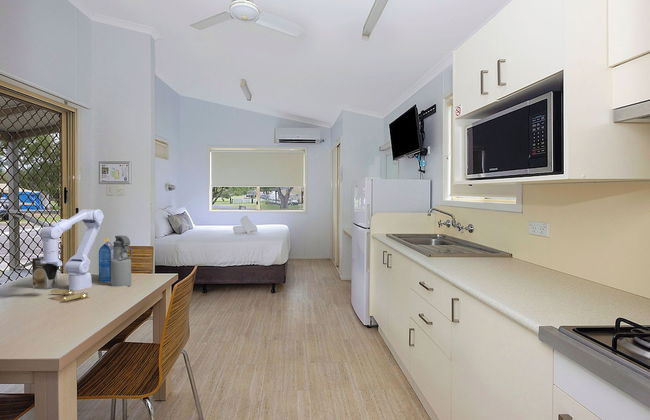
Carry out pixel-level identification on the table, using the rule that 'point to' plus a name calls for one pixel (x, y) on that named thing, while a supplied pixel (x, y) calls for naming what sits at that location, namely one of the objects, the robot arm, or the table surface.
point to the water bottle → (121, 262)
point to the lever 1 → (62, 292)
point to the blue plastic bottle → (105, 261)
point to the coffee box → (41, 275)
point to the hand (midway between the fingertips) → (51, 279)
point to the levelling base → (59, 298)
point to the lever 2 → (75, 296)
